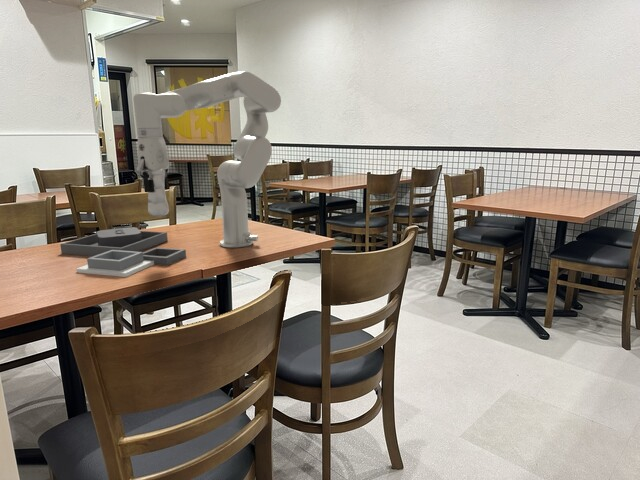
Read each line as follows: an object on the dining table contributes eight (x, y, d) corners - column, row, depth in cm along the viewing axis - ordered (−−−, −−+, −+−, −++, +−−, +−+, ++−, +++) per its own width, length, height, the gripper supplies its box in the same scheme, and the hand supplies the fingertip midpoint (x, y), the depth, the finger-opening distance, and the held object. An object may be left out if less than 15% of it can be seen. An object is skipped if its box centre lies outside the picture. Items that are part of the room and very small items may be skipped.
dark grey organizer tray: (167, 240, 176) (166, 232, 175) (122, 258, 152) (121, 248, 151) (112, 237, 183) (111, 229, 182) (61, 253, 159) (60, 244, 158)
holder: (186, 256, 154) (185, 249, 153) (167, 265, 143) (166, 257, 143) (156, 254, 157) (155, 247, 156) (136, 262, 147) (135, 255, 146)
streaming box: (143, 247, 165) (141, 233, 164) (100, 252, 159) (98, 238, 157) (137, 239, 178) (136, 226, 176) (97, 243, 171) (95, 230, 170)
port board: (155, 263, 145) (153, 251, 144) (126, 277, 132) (124, 263, 131) (109, 260, 150) (107, 248, 149) (76, 272, 137) (74, 259, 136)
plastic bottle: (173, 214, 149) (167, 154, 144) (160, 218, 143) (153, 155, 138) (158, 213, 151) (151, 154, 146) (144, 217, 145) (137, 155, 140)
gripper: (142, 134, 131) (149, 194, 136) (176, 133, 148) (181, 187, 152) (121, 135, 133) (128, 194, 138) (156, 133, 150) (162, 187, 154)
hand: (156, 190), depth 145 cm, fingers closed on plastic bottle, 6 cm apart
